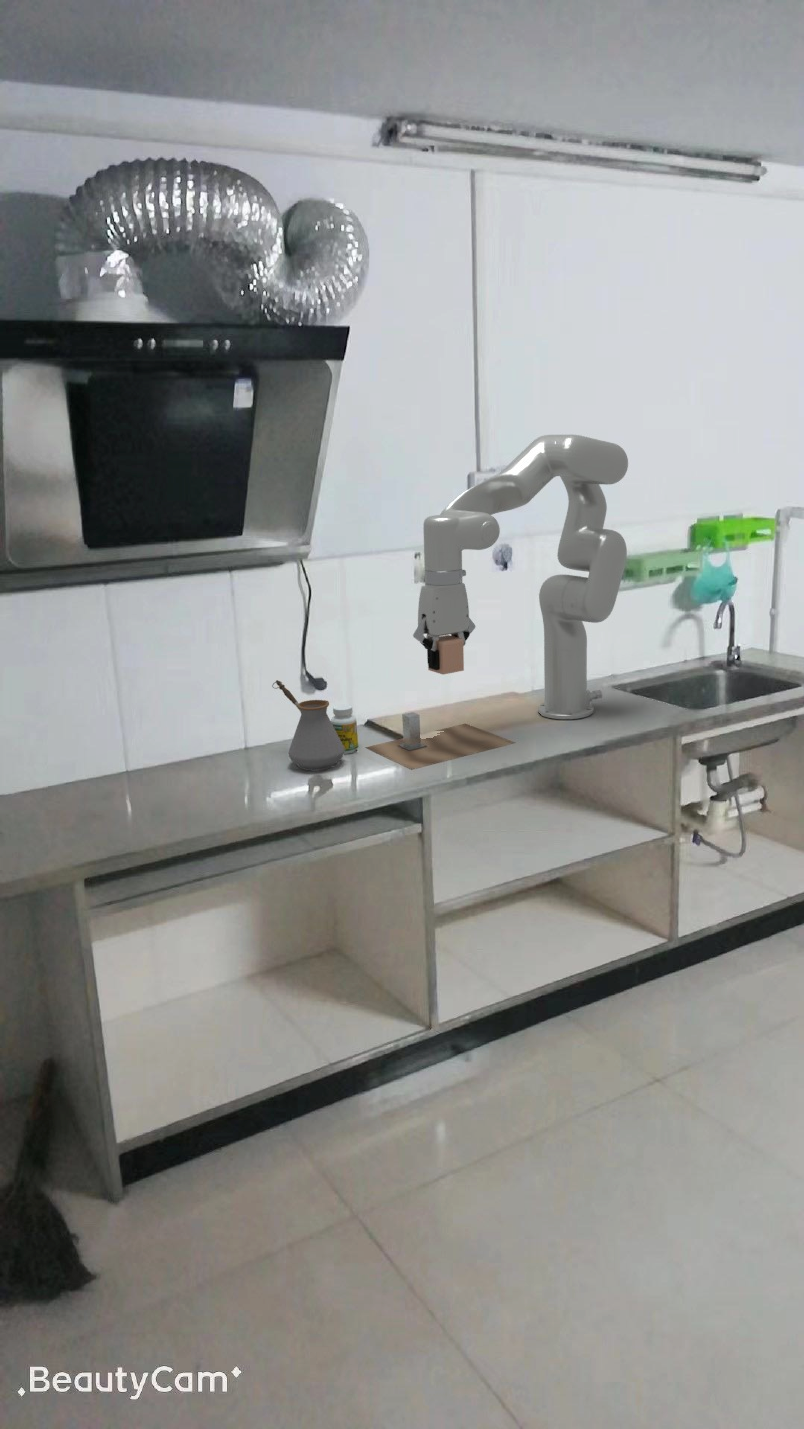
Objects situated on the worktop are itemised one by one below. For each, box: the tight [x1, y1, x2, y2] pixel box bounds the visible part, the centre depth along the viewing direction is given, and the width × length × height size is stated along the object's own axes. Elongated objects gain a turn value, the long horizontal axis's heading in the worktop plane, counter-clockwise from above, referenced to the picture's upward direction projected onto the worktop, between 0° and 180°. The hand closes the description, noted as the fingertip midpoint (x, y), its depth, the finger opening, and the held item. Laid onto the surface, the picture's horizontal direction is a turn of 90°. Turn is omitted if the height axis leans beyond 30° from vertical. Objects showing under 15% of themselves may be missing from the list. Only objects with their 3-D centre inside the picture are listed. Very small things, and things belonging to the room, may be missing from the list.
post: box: [398, 711, 427, 751], centre depth 219 cm, size 4×4×7 cm
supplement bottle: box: [330, 704, 359, 755], centre depth 221 cm, size 5×5×10 cm
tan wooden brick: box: [427, 634, 465, 675], centre depth 215 cm, size 5×5×7 cm
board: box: [365, 723, 516, 771], centre depth 221 cm, size 26×18×1 cm
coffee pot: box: [271, 680, 345, 771], centre depth 217 cm, size 21×12×15 cm, turn 34°
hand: (445, 665), depth 215 cm, fingers closed on tan wooden brick, 5 cm apart
